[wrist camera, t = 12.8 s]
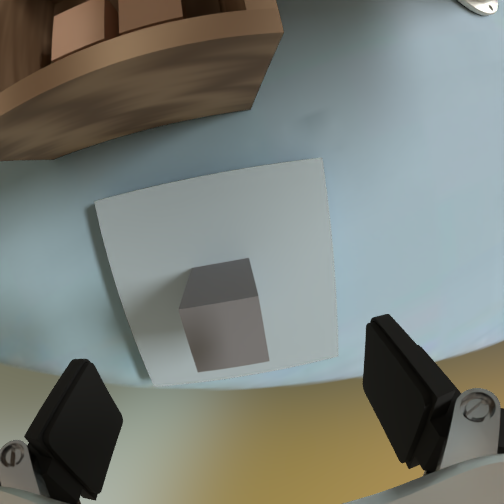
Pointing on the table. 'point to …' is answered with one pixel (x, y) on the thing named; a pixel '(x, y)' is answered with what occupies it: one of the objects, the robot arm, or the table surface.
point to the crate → (127, 74)
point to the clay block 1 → (83, 27)
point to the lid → (226, 271)
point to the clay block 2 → (148, 13)
